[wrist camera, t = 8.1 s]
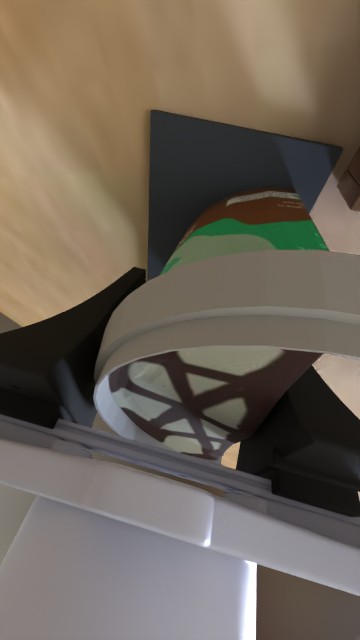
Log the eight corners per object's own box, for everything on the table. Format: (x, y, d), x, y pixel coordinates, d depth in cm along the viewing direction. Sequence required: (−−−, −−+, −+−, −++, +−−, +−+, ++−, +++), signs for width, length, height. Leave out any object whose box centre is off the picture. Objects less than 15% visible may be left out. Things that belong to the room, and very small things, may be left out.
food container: (166, 123, 10) (-8, 242, 4) (312, 150, 10) (416, 341, 3) (157, 316, 19) (103, 448, 13) (232, 334, 19) (216, 481, 12)
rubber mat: (342, 146, 10) (343, 148, 10) (242, 337, 19) (242, 340, 19) (152, 109, 10) (150, 110, 10) (147, 313, 20) (146, 316, 20)
